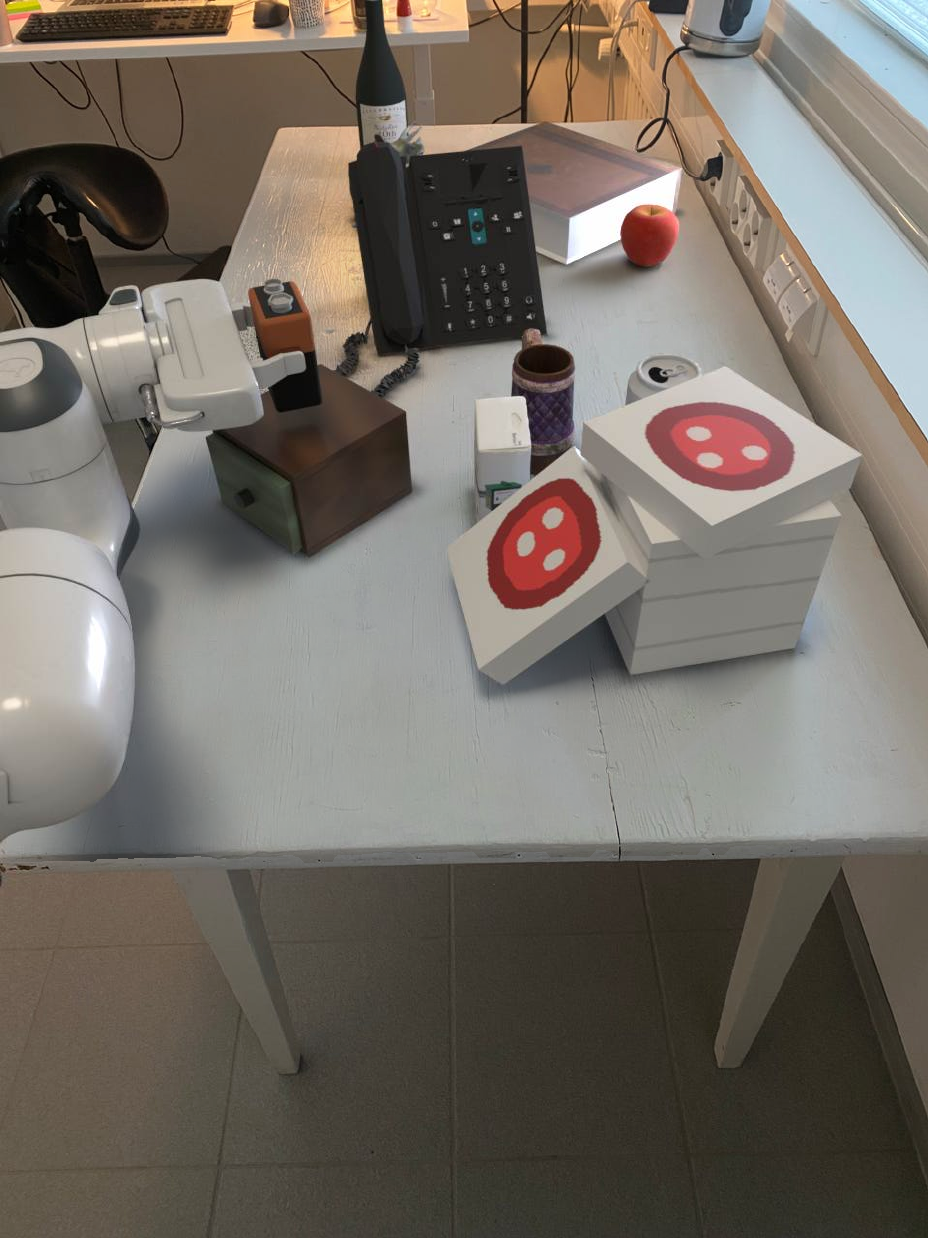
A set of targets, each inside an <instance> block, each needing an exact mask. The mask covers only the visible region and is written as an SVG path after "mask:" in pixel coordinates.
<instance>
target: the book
mask: <svg viewBox="0 0 928 1238" xmlns="http://www.w3.org/2000/svg"><path fill="white" fill-rule="evenodd" d="M515 146H522V150H523V158H524V165H525V173H526V180H527V188H528V195H529V202H530V210H531V217H532V225H533V232H534V240H535V247H536V253H539V254H541V255H543V256H546V257H548V258H550V259H552V260H555V261H556V262H559V263H561V264H563V265H569V264H571V263H573V262H575V261H578V260H580V259H582V258H583V257H585V256H588V255H590V254H592V253H595V252H597V251H598V250H601V249H603V248H605V247H607V246H609V245H611V244H613V243H616V242H618V241H619V240H620V241H621V239H620V228H621V225H622V222H623V220H624V217H625V216H626V214H627V213H628V212H629V211H631V210H632V209H633V208H634V207H636V206H639V205H642V204H657V205H661V206H664V207H666V208H668V209H670V210H671V211H672V212H673V214H674V215H675V214H677V210H678V209H677V208H678V201H679V196H680V187H681V183H682V182H681V181H682V176H683V175H682V174H683V167H681V166H678V165H675V164H672V163H670V162H666V161H663V160H661V159H658V158H655V157H651V156H649V155H646V154H644V153H639V152H637V151H634V150H631V149H628V148H625V147H622V146H620V145H616V144H613V143H611V142H608V141H604V140H602V139H599V138H595V137H593V136H590V135H587V134H584V133H582V132H578V131H575V130H572V129H569V128H566V127H563V126H561V125H557V124H555V123H552V122H549V121H546V120H545V121H542V122H540V123H536V124H534V125H531V126H529V127H526V128H523V129H521V130H517V131H515V132H512V133H509V134H506V135H503V136H501V137H498V138H496V139H493V140H491V141H488V142H485V143H482V144H480V145H477V146H474V147H471V148H469V149H466V150H465V151H471V150H482V149H493V148H504V147H515Z"/></svg>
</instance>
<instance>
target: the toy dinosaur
mask: <svg viewBox="0 0 928 1238" xmlns="http://www.w3.org/2000/svg"><path fill="white" fill-rule="evenodd" d="M414 125H416V120H414V121H413V122H412V123H411V124H410V125H408V127H407V128H406V129H405V130H404V131H403V132H402V133H401V135H400V137H399V139H398V140H397V141H395V142H392V143H390V142H388V141H386V140H385V139H384V138H383V137H382V135H380V134H378V133H376V134H375V133H374V135H375V136H374V138H375V141H377V142H387V143H390V144H391V145H392V146H393V147H394V148H395V149H396V150H397V151H398V152H399V153H400V156H403V157H405V163H406V164H408V163H409V161H410V156H416V155H425V146H424V145H423V143H422V137H421V136H419V137H418V138H417V139H416V140H415V141H413V142H411V141H412V140H413V138H415V136H417V135H418V134H419V133H420V131H422V127H423V124H420V125H419V127H418V128H417V129H416V130H414V131H412V132H411V133H410V134H409V135H408V136H407V137H406V135H407V133H409V131H411V130H412V128H413V126H414ZM405 138H406V139H405ZM348 185H349V187H348V188H349V195H350V198H351V199H352V195H351V189H350V182H349V181H348ZM353 221H355V217H354V218H353ZM350 227H351V228H354V229H357V227H356V222H355V223H353V224H352V225H351V226H350Z"/></svg>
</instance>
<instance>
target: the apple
mask: <svg viewBox="0 0 928 1238" xmlns="http://www.w3.org/2000/svg"><path fill="white" fill-rule="evenodd" d="M679 231H680V221H679V219H678V217H677V216H676V214H675V213H674V214H673V212H672V211H671V210H670V209H668V208H666V207H664V206H661V205H657V204H642V205H639V206H636V207H634V208H633V209H632V210H631V211H629V212H628V213H627V214H626V216H625V217H624V220H623V222H622V225H621V228H620V244H621V246H622V249H623V251H624V253H625V255H626V256H627V257H626V258H628V260H629V261H631V262H632V263H633V264H635V265H637V266H640V267H652V266H656V265H658V264H661V263H662V262H664V261H665V260H667V258H668V257H669V255H670V254H671V253H672V251H673V249H674V247H675V245H676V242H677V240H678V237H679Z"/></svg>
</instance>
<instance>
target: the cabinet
mask: <svg viewBox="0 0 928 1238" xmlns="http://www.w3.org/2000/svg"><path fill="white" fill-rule="evenodd" d="M318 370H319V377H320V384H321V391H322V399H323V401H322V404H320V405H317V406H312V407H307V408H302V409H297V410H292V411H287V412H281V413H280V412H278V411H277V410H276V408H275V406H274V403H273V400H272V397H271V395H270V392H269V390H267V391H265V392H263V393H260V396H261V400H262V406H263V411H264V415H263V417H262V418H261V419H259V420H258V421H256V422H255V423H253V424H251V425H247V426H241V427H234V428H227V429H219V430H211V431H212V433H214V432H216V433H217V434H219V435H220V436H222V437H223V438H225V439H226V440H228V441H229V442H231V443H232V444H234V445H235V446H236V445H237V446H239V447H240V448H242V449H243V450H245V451H246V452H248V453H249V454H251V455H252V456H254V457H255V458H257V459H258V460H260V461H261V462H262V463H264V464H265V465H267V466H268V467H270V468H271V469H273V470H274V471H276V472H277V473H279V474H280V475H282V476H283V477H285V478H286V479H288V480H289V482H290V483H291V488H292V493H293V498H294V503H295V508H296V513H297V518H298V524H299V529H300V534H301V539H302V544H303V548H302V549H300V550H299V551H298V552H300V553H301V554H303V555H304V556H306V557H307V558H311V557H312V556H313V557H314V555H316V554H317V553H319V552H321V551H323V550H324V549H325V548H327V547H328V546H330V545H331V544H333V543H334V542H337V541H338V540H339V539H341V538H343V537H344V536H345V535H347V534H348V533H350V532H352V531H353V530H355V529H357V528H358V527H360V526H361V525H363V524H364V523H366V522H367V521H369V520H370V519H372V518H373V517H375V516H377V515H378V514H380V513H381V512H383V511H385V510H386V509H388V508H390V507H391V506H393V505H394V504H395V503H397V502H399V501H400V500H402V499H403V498H405V497H406V496H409V494H411V493H413V484H412V483H413V481H412V473H411V472H412V471H411V457H410V446H409V443H410V442H409V432H408V420H407V419H408V417H407V411H406V410H405V409H403V408H402V407H399V406H397V405H396V404H394V403H392V402H390V401H388V399H384V397H383V398H381V397H379V396H378V395H376V394H374V393H372V392H371V390H368V389H367V388H365V387H363V386H361V385H359V384H358V383H356V382H354V381H353V380H350V379H349V378H347V377H345V376H344V375H343V376H342V375H340V374H338V373H336V372H335V371H333V370H334V369H331V368H329V367H328V366H325V365H324V364H322V363H319V364H318Z"/></svg>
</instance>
